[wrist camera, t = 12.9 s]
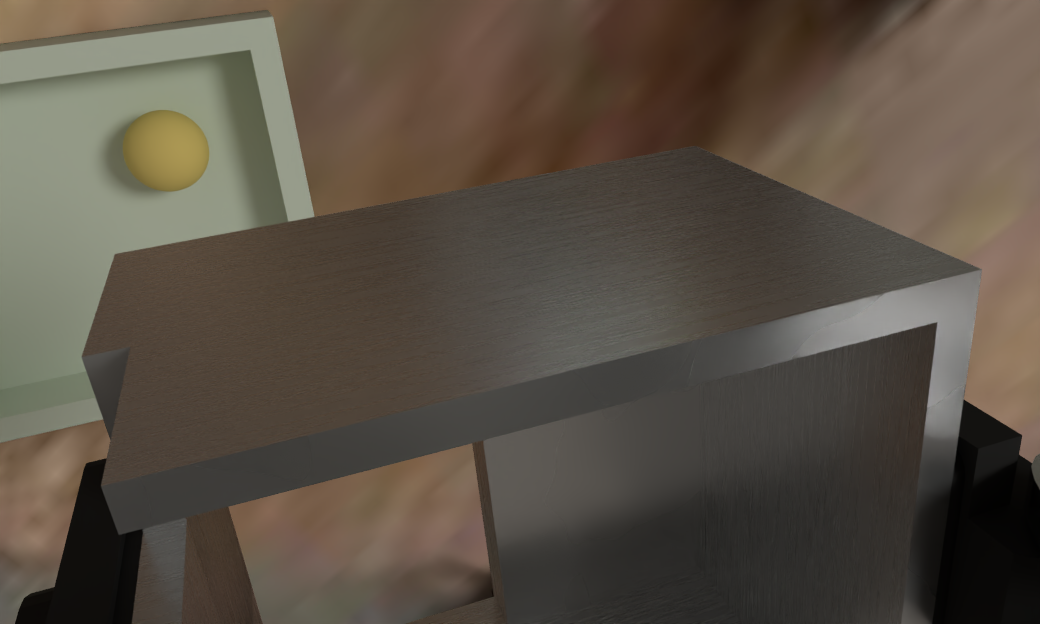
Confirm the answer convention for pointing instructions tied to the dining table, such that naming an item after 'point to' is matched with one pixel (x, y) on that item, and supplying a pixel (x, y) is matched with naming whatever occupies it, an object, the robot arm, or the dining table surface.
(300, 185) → the tray
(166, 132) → the ball
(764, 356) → the open shelf cabinet
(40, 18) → the dining table surface
